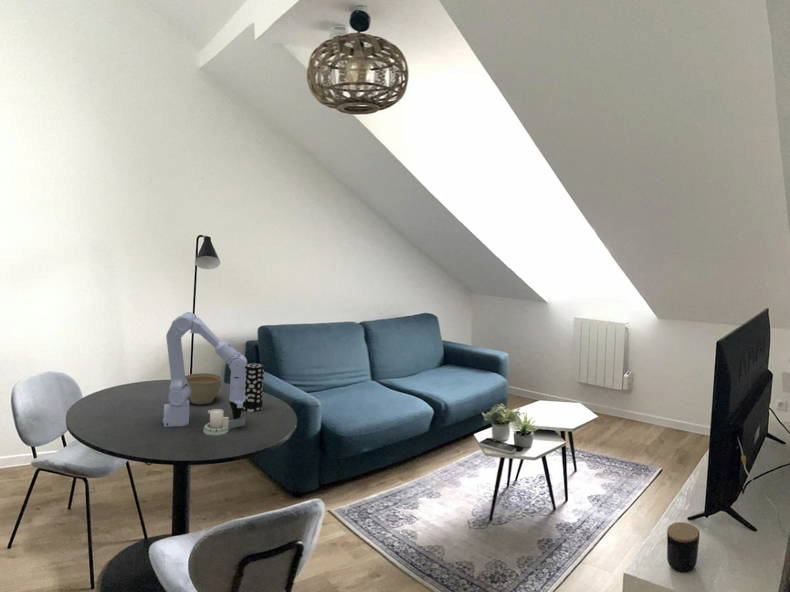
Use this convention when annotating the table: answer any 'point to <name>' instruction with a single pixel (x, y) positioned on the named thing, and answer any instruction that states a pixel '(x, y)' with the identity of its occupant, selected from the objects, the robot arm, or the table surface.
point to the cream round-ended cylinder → (218, 419)
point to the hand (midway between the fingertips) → (236, 420)
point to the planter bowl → (203, 387)
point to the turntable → (222, 431)
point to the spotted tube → (254, 387)
